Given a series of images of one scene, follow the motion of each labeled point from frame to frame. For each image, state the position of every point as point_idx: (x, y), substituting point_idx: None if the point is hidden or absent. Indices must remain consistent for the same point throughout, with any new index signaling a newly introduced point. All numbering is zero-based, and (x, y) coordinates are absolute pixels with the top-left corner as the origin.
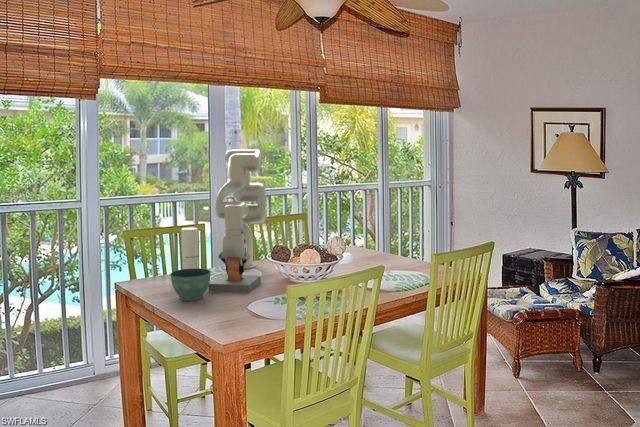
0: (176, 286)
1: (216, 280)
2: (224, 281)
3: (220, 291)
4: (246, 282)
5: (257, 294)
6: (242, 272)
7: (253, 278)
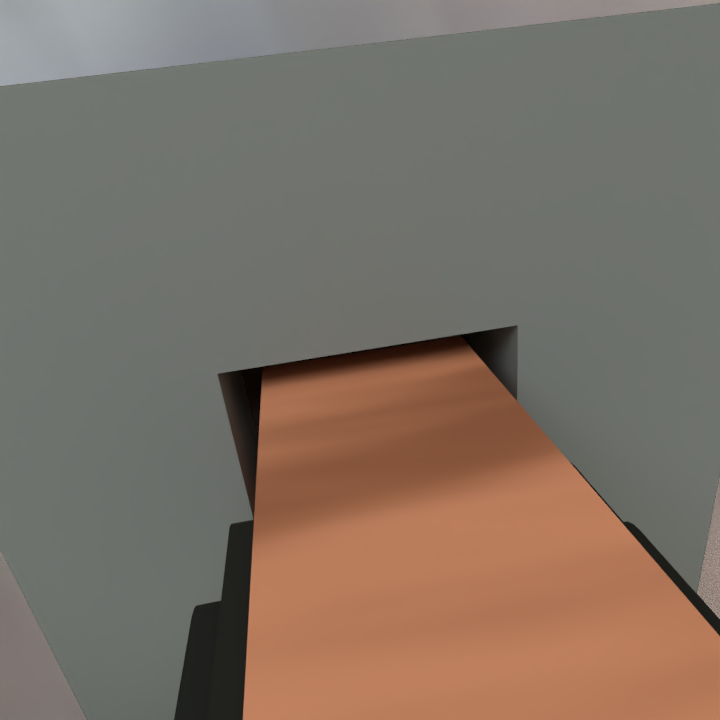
0: None
1: (106, 623)
2: None
3: None
4: None
5: (713, 570)
6: None
7: (692, 309)
